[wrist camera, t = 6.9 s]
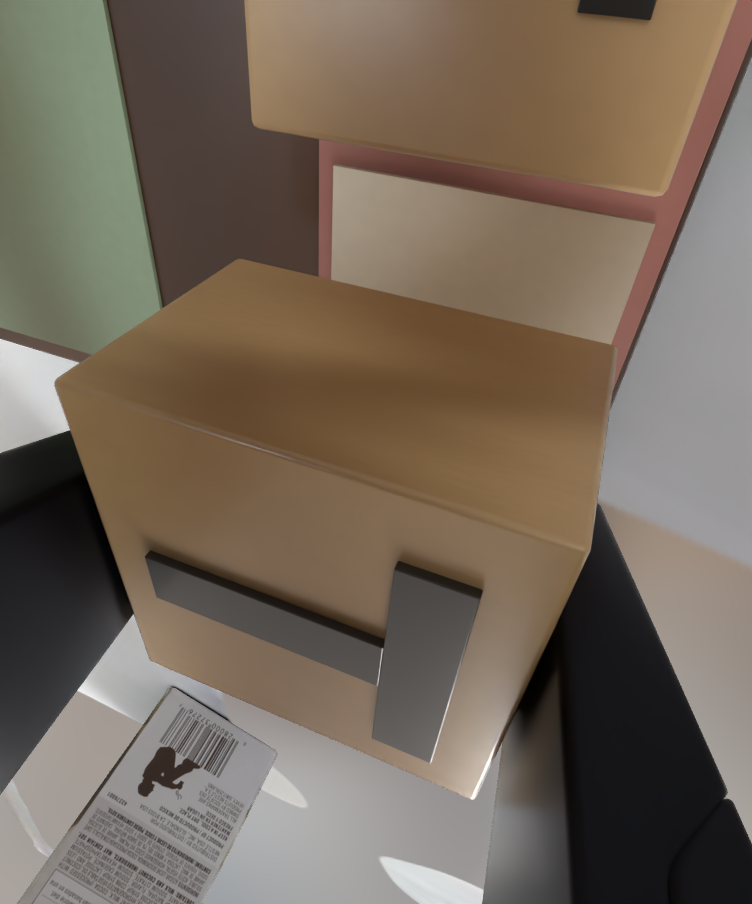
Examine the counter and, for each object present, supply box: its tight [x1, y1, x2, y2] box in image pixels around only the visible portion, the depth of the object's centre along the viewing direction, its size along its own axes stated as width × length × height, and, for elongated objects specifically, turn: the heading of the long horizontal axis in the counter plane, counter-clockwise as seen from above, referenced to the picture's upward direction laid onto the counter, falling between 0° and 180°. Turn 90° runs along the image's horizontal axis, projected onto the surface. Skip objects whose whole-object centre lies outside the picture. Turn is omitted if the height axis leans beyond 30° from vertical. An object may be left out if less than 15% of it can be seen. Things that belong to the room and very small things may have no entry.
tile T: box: [54, 259, 618, 799], centre depth 7 cm, size 4×4×3 cm
